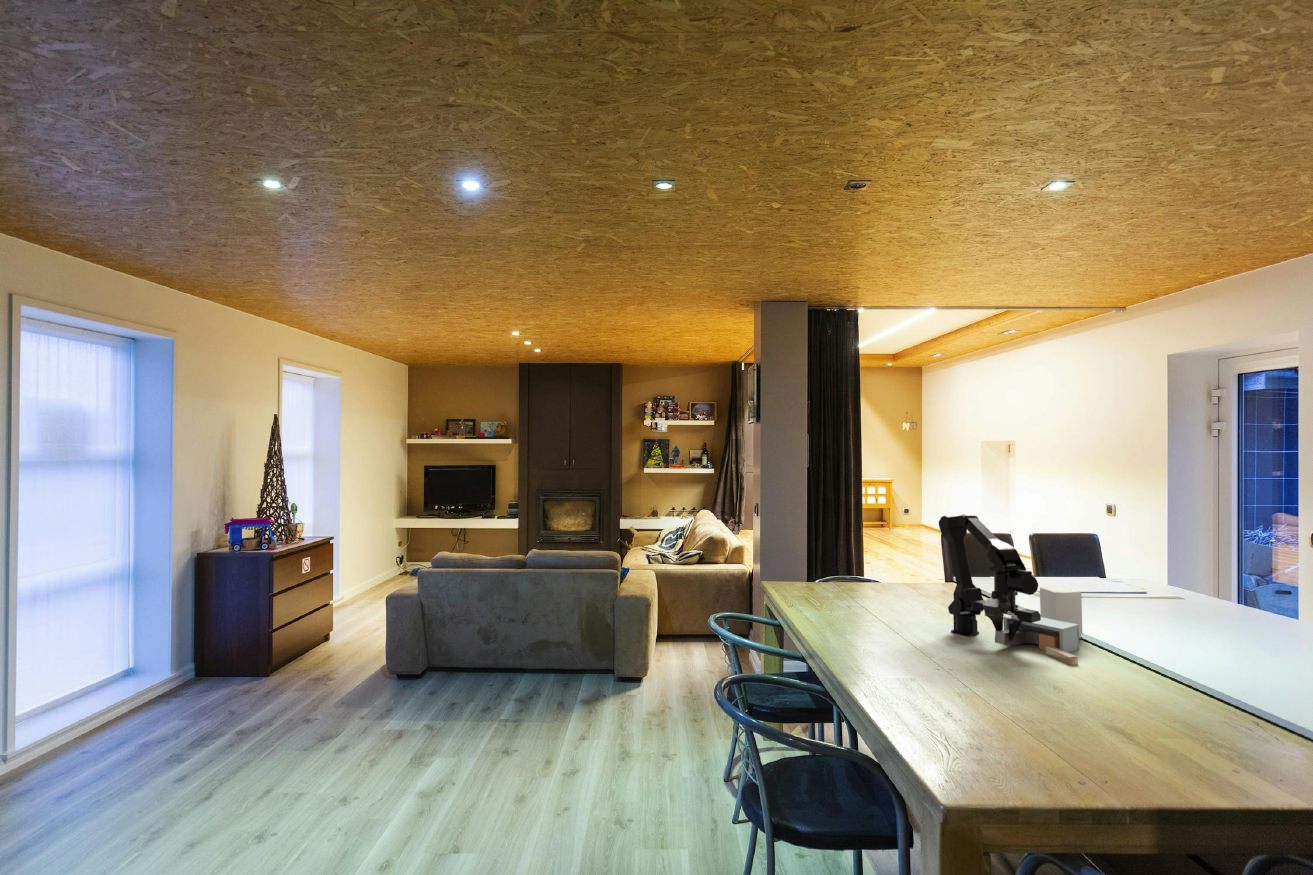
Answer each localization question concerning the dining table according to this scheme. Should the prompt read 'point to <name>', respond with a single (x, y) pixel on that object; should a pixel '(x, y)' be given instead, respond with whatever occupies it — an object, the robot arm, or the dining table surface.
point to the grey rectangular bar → (1017, 637)
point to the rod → (1062, 655)
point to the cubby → (1054, 631)
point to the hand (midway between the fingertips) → (1005, 639)
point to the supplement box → (1061, 605)
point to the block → (1049, 640)
